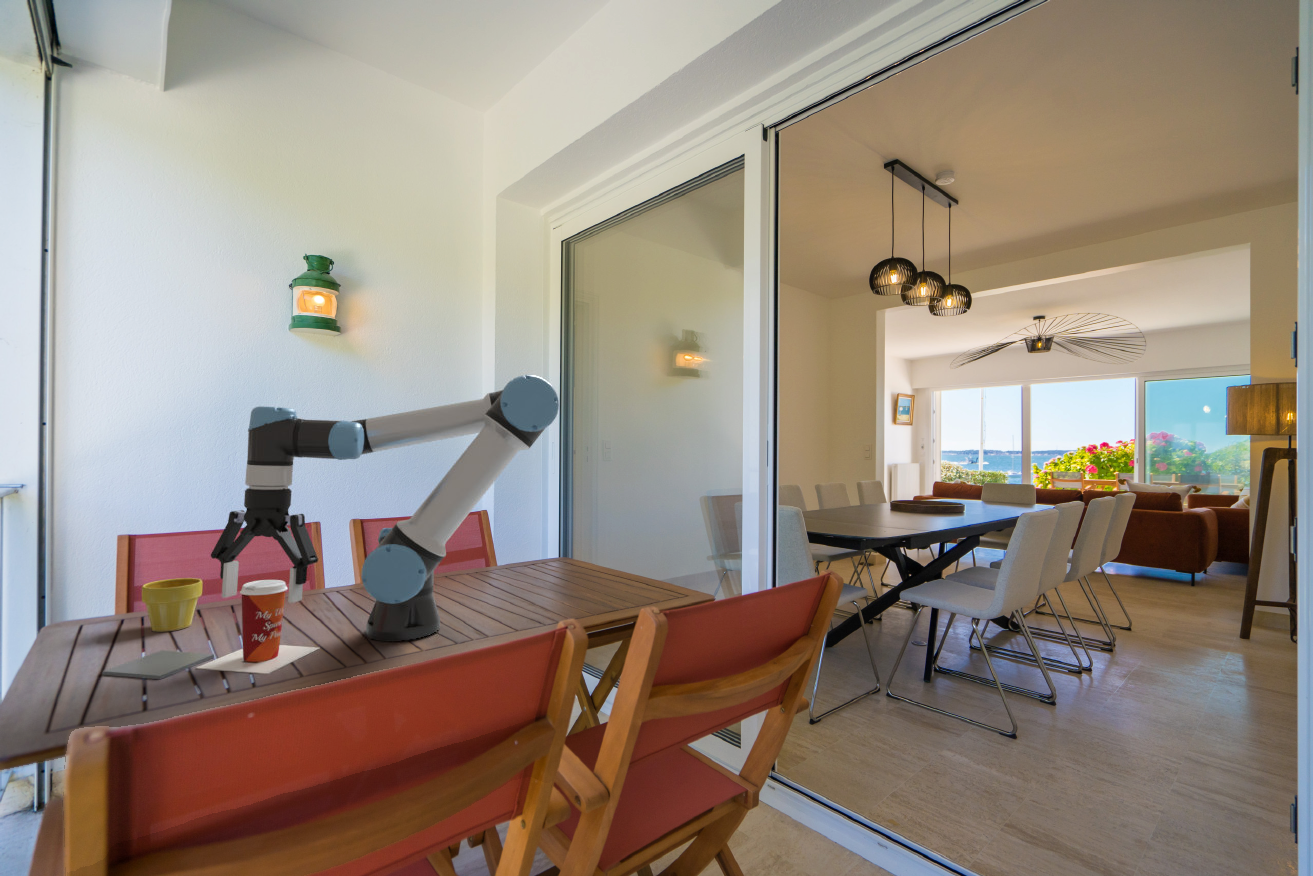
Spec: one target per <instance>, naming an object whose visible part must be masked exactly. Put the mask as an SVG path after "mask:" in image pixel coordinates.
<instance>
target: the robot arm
mask: <svg viewBox="0 0 1313 876" xmlns="http://www.w3.org/2000/svg"><path fill="white" fill-rule="evenodd" d="M559 406H560V403H559V397H558V394H557V391H556V389H555V388H554V386H552V384H551V383H550V382H548V380H546V379H544V378H543V377H540V376H537V375H532V374H523V375H520V376H517V377H514V378H513V379H512V380H509V381H508V383H507V384H506V385H505V386H504V387H503V389H501V390H498V391H494V392H488V393H486V394H485V396H484V397H483V398H479V399H475V400H473V399H472V400H469V401H468V400H467V401H462V402H455V403H451V404H444V405H439V406H438V405H437V406H434V407H427V408H422V409H415V410H409V411H405V412H397V413H392V414H388V415H381V416H380V415H379V416H375V417H369V418H365V419H358V420H356V419H355V420H352V421H348V420H326V419H325V420H323V419H322V420H321V419H303V418H298V416H297V411H296V410H295V409H294V408H291V407H278V406H261V405H259V406H256V407H254V408H252V409H251V411H250V416H249V417H250V418H249V425H248V429H247V432H248V437H247V459H246V460H247V461H246V469H245V470H246V471H245V480H244V481H245V482H244V484H245V485H246V486H247V488H246V489H245V490H244V502H243V507H245V508H246V510H243V509H241V510H231V511H230V512H229V514H228V519H227V524H226V525H225V527H224V529H223V530H222V533H221V535H220V536H219V538H218V540H217V542H216V544H215V546H214V548H213V549H212V551H211V553H210V557H211V559H216V560H218V561H219V562H220V571H219V572H220V574H219V577H220V579H221V580H222V586H221V598H223V599H227V598H230V597H233V596H237V595H238V594H237V593H238V583H239V582H238V580H239V564H240V562H239V561H238V560H237V557H238V556H239V555H240V554H241V553H242V551H243V550H244V549H245V548H246V547H247V546H248V545H249V543H250V542H251V541H252V540H253V539H254V538H255V537H261V536H262V537H265V538H273V540H274V541H277V542H278V544H279V545H280V547H281V548H282V550H283V552H284V553H285V554H286V555H287V558H289V560H290V561H291V563H292V564H293V566H292V567H290V568H289V569H290V570H289V582H288V583H289V584H288V601H287V603H289V604H293V603H297V602H299V601H302V599H303V585H304V584H306V583H307V578H308V576H307V575H308V567H309V566H311V565H313V564H315V563H318V562H319V557H318V555H317V553H316V550H315V547H314V545H313V542H312V540H311V538H310V537H311V536H310V535H309V532H308V530H307V527H306V519H305V518H306V517H305V515H304V513H297V514H291V515H290V513H289V509H290V507H291V505H292V504H291V503H292V490H291V489H290V488H289V487H291V485H293V470H294V467H293V466H294V458H309V459H328V460H329V459H331V460H338V461H339V460H340V461H342V460H343V461H345V460H357V459H359V458H360V457H361V456H362V455H367V454H372V453H376V452H382V451H383V452H384V451H387V450H392V449H393V450H394V449H397V448H398V449H399V448H403V447H410V446H415V445H420V444H424V443H425V444H426V443H432V442H436V441H442V440H447V439H453V438H457V437H464V436H469V435H474V434H475V435H476V434H477V435H476V437H475V438H474V439H473V440H472V442H471V443H470V444H469V445H468V446H467V447H466V449H465V450H464V451H463V452H462V454H461V455H460V456H459V458H458V459H456V461H455V463H453V465H452V466H451V467H450V469H449V470H448V471H447V472H446V474H445V475H444V476H443V478H441V480H440V481H439V483H438V484H437V485H436V486H435V488H434V489H432V491H431V492H430V494H429V495H428V496H427V497H426V499H424V501H423V502H421V503H422V504H420V506H419V507H418V508H417V509H416V510H415V512H414V513H413V514H412V516H411V517H410V518H409V519H405V520H400V521H397V522H396V524H395V525H393V526H392V527H383V528H382V529H380V531H379V534H378V538H377V543H378V544H377V547H376V548H374V550H372V551H371V552H370V553H369V554H368V555H367V556H366V557H365V559H364V562H363V564H362V568H361V576H360V577H361V578H360V579H361V582H362V585H363V588H364V590H365V591H366V592H367V593H368V594H369V595H370V596H371V598H373V599H375V601H374V604H373V607H372V609H371V611H370V614H369V617H368V619H367V622H366V625H365V626H366V629H365V635H366V636H367V638H370V639H372V640H376V641H383V642H402V641H401V640H405V641H410V640H409V639H413V640H417V639H416V638H419V639H421V638H420V637H423V636H426V635H429V634H432V633H434V632H436V631H437V630H439V631H440V629H439V628H441V617H440V615H439V611H438V606H437V604H436V600H435V597H434V579H435V578H434V573H435V572H434V571H435V569H436V568H437V567H438V566H439V564H440V563H441V562H442V561H443V559H445V557H446V556H447V552H446V543H447V542H448V540H450V538H451V537H452V536H453V535H454V533H455V532H456V531H457V529H458V528H459V527H460V526H461V524H462V523H463V522H464V520H465V519H466V518H467V516H468V515H469V514H470V513H471V512H472V510H473V509H474V508H475V506H476V505H477V504H478V503H479V501H480V500H481V499H482V498H483V497H484V495H485V494H486V492H487V491H488V490H489V489H490V488H491V487H492V485H493V484H494V482H495V481H496V480H497V479H498V477H499V476H500V475H501V474H502V472H503V471H504V470H505V468H506V467H507V466H508V465H509V463H511V461H512V460H513V459H514V457H515V456H516V454H517V453H518V452H519V451H525V450H530V449H531V447H532V446H533V445H534V443H535V442H536V441H537V439H538V438H539V437H540V436H541V435H542V433H543V432H544V431H545V429H546V428H548V426H551V424H553V423H554V421H555V420H556V418H557V415H558V411H559V408H560V407H559ZM244 522H245V524H246V525H245V526H244V528H242V526H243V524H244ZM287 525H288V526H289V527H290V528H289V527H288V526H287ZM241 528H242V530H241ZM239 532H240V533H239ZM238 534H239V535H238ZM436 633H437V632H436ZM434 634H435V633H434ZM432 635H433V634H432ZM423 638H424V637H423Z"/></svg>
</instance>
